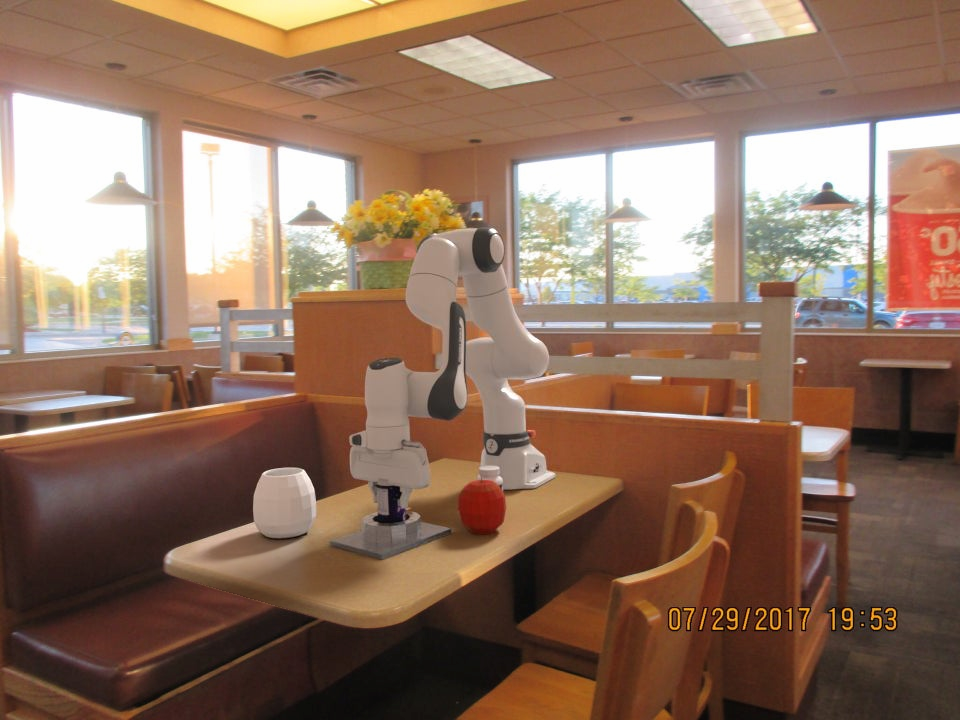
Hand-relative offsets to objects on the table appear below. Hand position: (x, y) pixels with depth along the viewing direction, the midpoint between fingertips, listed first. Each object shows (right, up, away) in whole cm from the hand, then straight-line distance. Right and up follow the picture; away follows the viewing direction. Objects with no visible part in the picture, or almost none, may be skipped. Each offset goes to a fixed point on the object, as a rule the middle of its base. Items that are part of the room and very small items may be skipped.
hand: (390, 504), depth 155 cm
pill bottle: (+21, -6, +16) cm, 27 cm away
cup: (-23, -8, +7) cm, 25 cm away
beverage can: (0, -6, +1) cm, 6 cm away
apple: (+19, -7, +5) cm, 21 cm away
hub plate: (0, -7, +1) cm, 7 cm away
